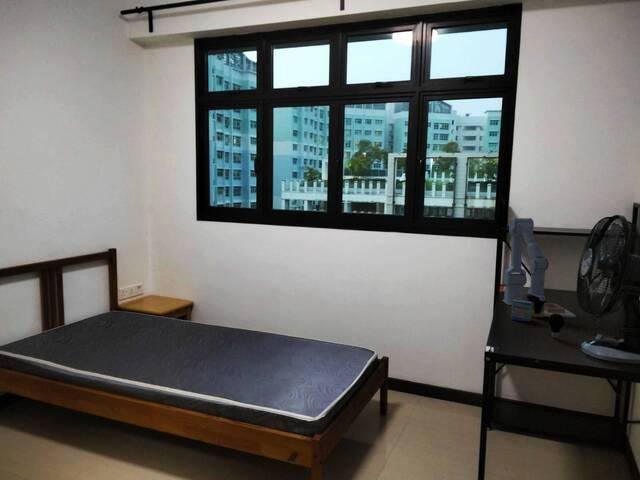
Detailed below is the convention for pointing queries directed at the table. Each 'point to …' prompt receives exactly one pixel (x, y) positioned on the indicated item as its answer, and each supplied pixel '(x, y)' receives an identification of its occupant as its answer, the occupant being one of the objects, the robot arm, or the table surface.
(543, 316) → the oak block
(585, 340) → the table surface
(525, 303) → the medicine box
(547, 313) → the holder
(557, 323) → the light bulb
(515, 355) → the table surface
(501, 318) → the table surface
